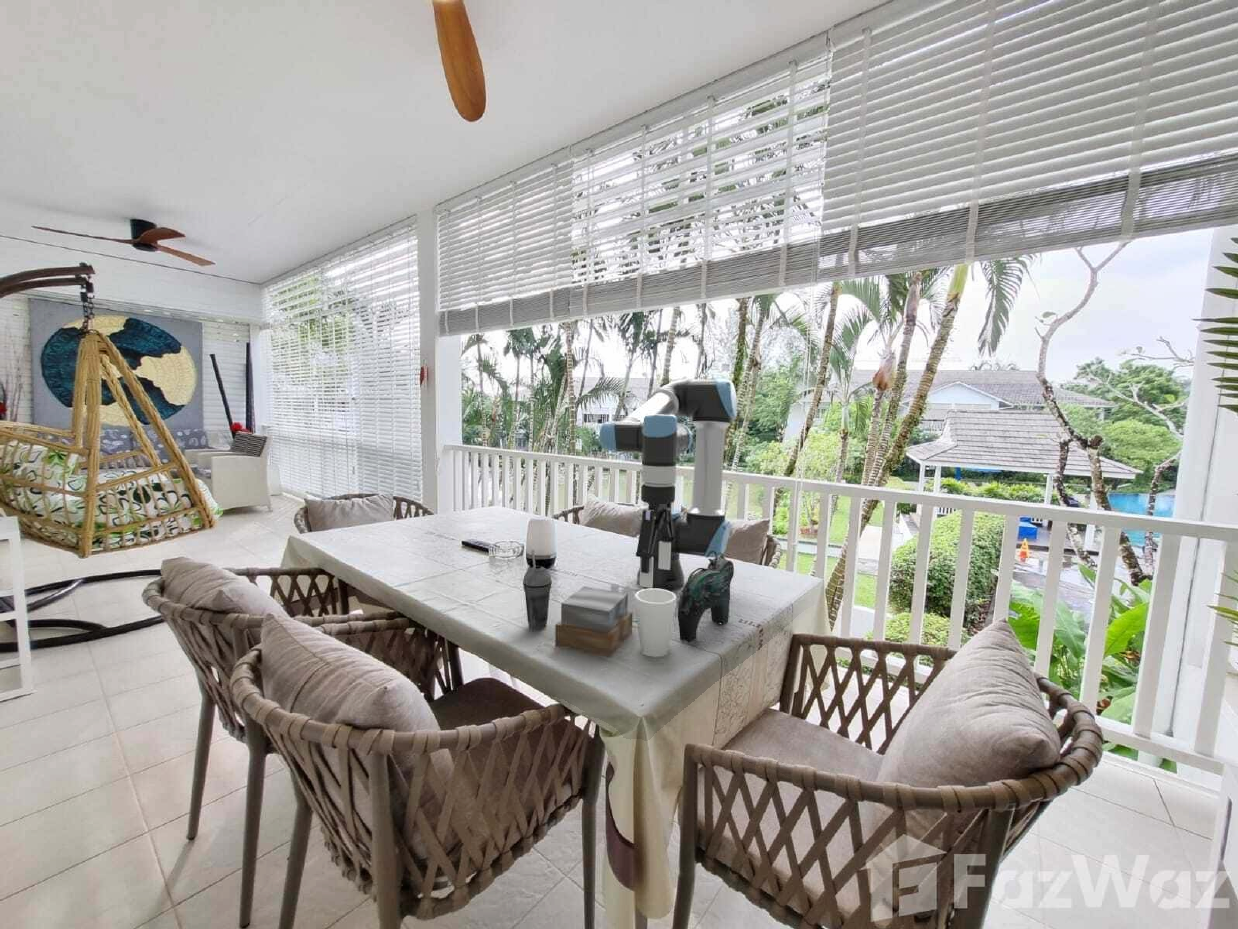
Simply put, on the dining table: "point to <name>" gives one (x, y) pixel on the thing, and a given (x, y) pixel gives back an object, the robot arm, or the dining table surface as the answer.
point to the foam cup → (655, 620)
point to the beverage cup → (537, 595)
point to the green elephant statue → (705, 596)
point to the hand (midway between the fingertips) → (655, 577)
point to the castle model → (630, 601)
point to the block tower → (594, 621)
